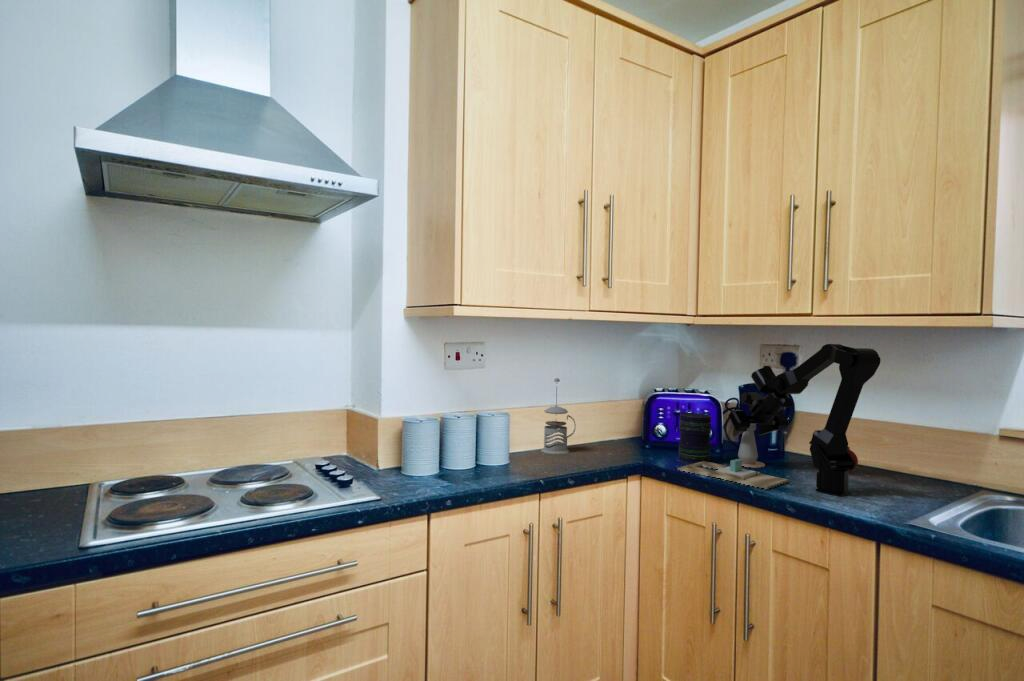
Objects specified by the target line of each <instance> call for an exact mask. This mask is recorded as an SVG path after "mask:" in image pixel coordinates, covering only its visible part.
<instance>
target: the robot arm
mask: <svg viewBox="0 0 1024 681" xmlns="http://www.w3.org/2000/svg"><path fill="white" fill-rule="evenodd" d="M834 363H835V364H838V369H839V373H840V377H841V380H840V383H839V386H838V388H837V391H836V394H835V397H834V400H833V403H832V406H831V409H830V413H829V414H828V417H827V420H826V423H825V426H824V428H822V429H820V430H818V429H817V430H814V431H813V432H812V436H811V440H810V441H809V442H808V444H809V452H810V455H811V460H812V464H813V468H814V469H818V471H817V472H816V482H815V483H816V488H815V491H816V492H819V493H824V494H829V495H832V496H833V495H834V496H838V497H844V496H846V495H848V494H850V493H851V490H850V489H849V476H850V475H849V474H850V472H849V470H851V471H853V470H855V468H854V467H855V464H856V463H855V461H854V460H853V458H852V457H851V455H850V454H849V453H848V451H847V448H848V447H849V441H848V438H847V431H848V428H849V426H850V423H851V420H852V416H853V415H854V412H855V409H856V406H857V404H858V400H859V397H860V395H861V393H862V389H863V387H864V385H865V384H866V383H867V382H868V381H869V380H870V379H871V378H872V377H874V376H875V374H876V373H877V370H878V369H879V367H880V364H881V357H880V355H879V353H878V352H877V351H876V350H875V349H874V348H868V347H867V348H866V347H865V348H864V347H862V348H861V347H851V346H846V345H843V344H840V343H826V344H824V345H822V346H821V348H820V349H819V350H817V352H815V353H813V354H812V356H810V357H809V358H807V359H806V360H805V361H803V362H802V363H800V364H799V365H798V366H796V367H795V368H793V369H791V370H787V371H783V372H782V373H779V374H778V375H776V374H775V372H774V371H773V368H772V367H771V366H770V365H764V366H762V367H761V368H759V369H757V370H755V371H753V372H752V373H751V376H750V377H751V379H752V380H753V382H754V384H755V386H756V387H757V389H758V391H759V392H760V393H763V394H764V393H765V394H766V395H765V396H762V395H761V394H760V393H759V392H755V391H749V392H748V391H747V392H743V393H741V395H740V398H739V400H740V402H741V403H742V404H743V405H746V406H748V407H749V408H748V411H749V412H750V413H751V415H747V413H746V412H745V411H744V410H742V409H737V410H736V409H732V410H731V411H730V413H729V414H728V418H729V419H730V422H731V424H733V430H732V436H733V437H738V436H739V435H742V434H743V432H745V431H747V429H748V428H749V427H750V424H756V425H759V426H760V425H761V426H760V427H759V429H758V430H757V432H756V435H757V436H758V437H760V436H763V435H767V434H769V433H772V432H777V431H781V430H782V429H783V430H785V429H787V428H788V426H789V423H790V421H789V419H788V418H787V416H786V414H785V413H784V411H783V410H782V409H783V408H793V407H794V403H793V398H792V397H790V396H789V395H800V394H801V393H802V392H803V391H805V389H807V387H808V386H809V382H810V381H811V380H812V379H813V378H815V377H816V376H817V375H819V374H820V373H821V372H823V371H824V370H825V369H827V368H829V367H830V366H831V365H833V364H834Z"/></svg>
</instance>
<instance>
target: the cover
mask: <svg viewBox="0 0 1024 681" xmlns="http://www.w3.org/2000/svg"><path fill="white" fill-rule="evenodd" d="M728 466H729V467H725V468H721V469H718V470H716V469H715V471H718V472H723V473H728V474H733V475H737V476H742V477H745V478H747V477H751V476H754V475H756V472H757V471H755V470H751V469H746V468H743V467H742V460H740V459H739V458H736V459H731V460H730V465H728Z"/></svg>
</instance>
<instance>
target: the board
mask: <svg viewBox="0 0 1024 681" xmlns="http://www.w3.org/2000/svg"><path fill="white" fill-rule="evenodd" d="M702 466H703V467H702ZM729 466H730V465H724V464H720V463H715V462H711V461H710V462H705V461H702V462H698V463H694V464H685V465H683V466H679V467H677V471H679V470H680V471H679V472H683V471H685V472H684V473H688V472H690V473H689V474H692V473H695V474H694V475H697V474H700V475H699V476H702V475H705V476H704V477H706V476H711V477H716V478H721V479H724V480H723V481H725V480H729V481H733V482H732V483H734V482H737V483H736V484H738V483H741V484H740V485H743V484H745V485H744V486H747V485H750V486H749V487H752V486H754V487H753V488H757V487H759V488H758V489H761V488H764V489H763V490H766V489H768V490H770V489H769V488H771V489H773V488H775V486H776V487H778V486H777V485H779V486H781V485H780V484H782V485H784V484H787V483H789V479H788V478H784V477H783V478H782V477H777V476H773V475H769V474H768V475H767V474H763V473H761V472H760V471H756V475H754V476H751V477H747V478H745V477H742V476H737V475H733V474H728V473H723V472H718V471H716V469H721V468H725V467H729ZM706 467H708V469H707V468H706ZM711 468H713V469H711ZM711 477H710V478H711ZM729 481H728V482H729ZM786 482H787V483H786ZM783 483H784V484H783ZM772 487H773V488H772Z"/></svg>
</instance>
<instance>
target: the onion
mask: <svg viewBox="0 0 1024 681" xmlns="http://www.w3.org/2000/svg"><path fill="white" fill-rule="evenodd" d="M847 451H848V453H849V454H850V455H851V457H852V458H853V460H854V461H855V463H856V464H855V467H854V469H856V468H857V466H858V465H859V464H858V463H859V459H858V458H859V457H858V455H856V453H855V452H854V451H853V450H851V447H850V446H848V448H847ZM850 472H852V470H849V473H850Z"/></svg>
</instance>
